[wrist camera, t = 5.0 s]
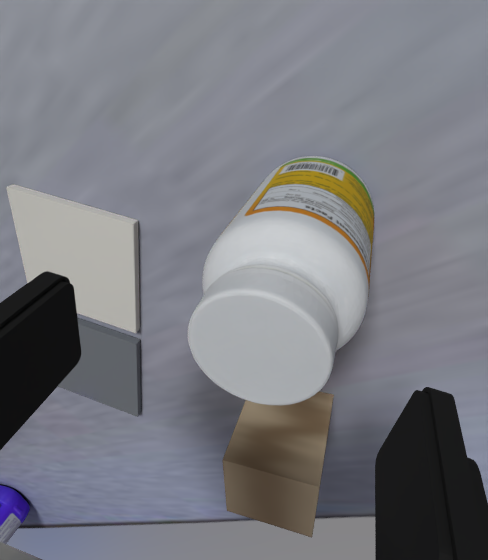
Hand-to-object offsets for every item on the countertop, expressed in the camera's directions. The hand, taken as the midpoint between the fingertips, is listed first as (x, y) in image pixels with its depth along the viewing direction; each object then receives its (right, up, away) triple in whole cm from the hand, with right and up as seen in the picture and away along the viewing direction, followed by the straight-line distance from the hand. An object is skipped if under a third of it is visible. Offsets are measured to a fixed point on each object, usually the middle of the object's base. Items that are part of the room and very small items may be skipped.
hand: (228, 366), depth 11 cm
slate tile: (-11, -4, +19) cm, 22 cm away
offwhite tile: (-10, +4, +14) cm, 17 cm away
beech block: (+4, -6, +15) cm, 17 cm away
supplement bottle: (+4, +6, +8) cm, 10 cm away
